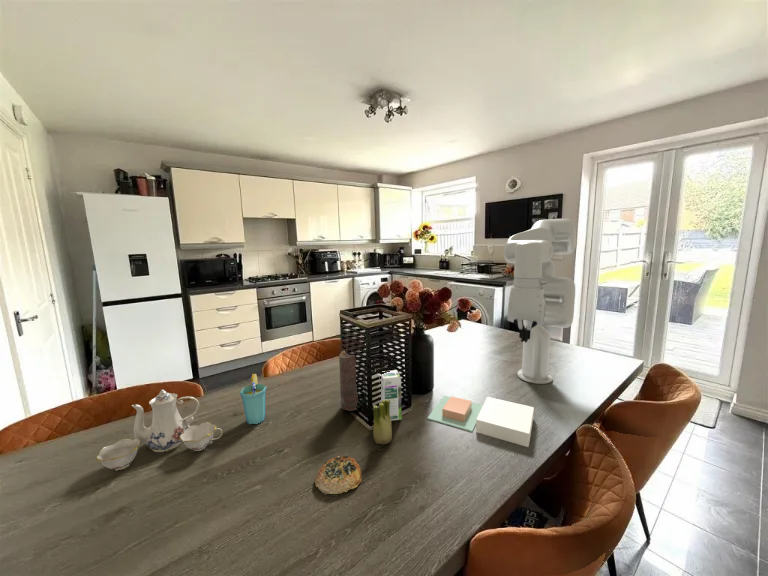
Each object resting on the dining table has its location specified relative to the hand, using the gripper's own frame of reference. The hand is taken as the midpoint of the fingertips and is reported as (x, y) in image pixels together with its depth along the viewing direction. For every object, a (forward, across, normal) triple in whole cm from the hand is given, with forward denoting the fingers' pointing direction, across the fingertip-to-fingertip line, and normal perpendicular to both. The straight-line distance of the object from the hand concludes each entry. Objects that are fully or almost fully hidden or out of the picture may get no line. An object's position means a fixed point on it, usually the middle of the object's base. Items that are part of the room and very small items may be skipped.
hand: (524, 340), depth 95 cm
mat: (+24, +18, +12) cm, 32 cm away
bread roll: (+23, +32, +53) cm, 66 cm away
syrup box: (+24, +35, +24) cm, 49 cm away
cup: (+22, +70, +48) cm, 88 cm away
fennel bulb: (+23, +31, +36) cm, 53 cm away
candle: (+23, +49, +27) cm, 61 cm away
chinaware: (+22, +81, +70) cm, 109 cm away
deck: (+24, +3, +11) cm, 26 cm away
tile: (+21, +18, +12) cm, 30 cm away
